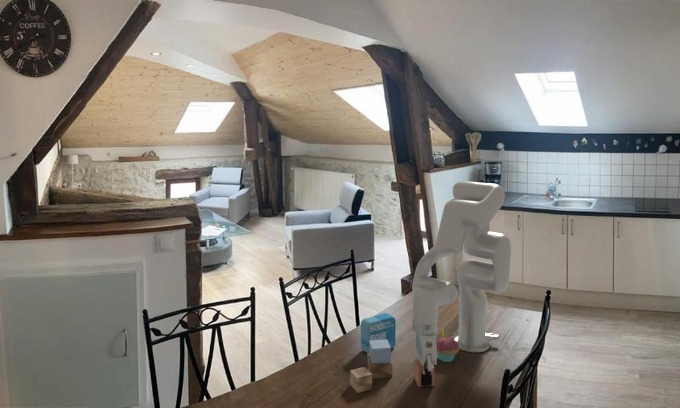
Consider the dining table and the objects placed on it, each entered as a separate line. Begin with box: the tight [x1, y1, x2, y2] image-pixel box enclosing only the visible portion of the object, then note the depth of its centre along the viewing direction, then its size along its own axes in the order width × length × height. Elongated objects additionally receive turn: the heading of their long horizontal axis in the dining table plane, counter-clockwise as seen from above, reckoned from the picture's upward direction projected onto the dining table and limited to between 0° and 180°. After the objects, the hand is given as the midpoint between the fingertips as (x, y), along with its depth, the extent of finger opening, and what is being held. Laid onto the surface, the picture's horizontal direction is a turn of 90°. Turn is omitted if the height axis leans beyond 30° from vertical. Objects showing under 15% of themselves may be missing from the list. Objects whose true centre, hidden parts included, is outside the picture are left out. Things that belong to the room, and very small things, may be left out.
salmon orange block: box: [414, 360, 435, 388], centre depth 155 cm, size 5×5×6 cm
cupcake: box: [436, 327, 460, 363], centre depth 169 cm, size 9×8×12 cm
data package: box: [360, 312, 397, 354], centre depth 176 cm, size 12×4×12 cm, turn 120°
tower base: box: [366, 353, 393, 380], centre depth 161 cm, size 7×7×5 cm
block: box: [349, 366, 373, 394], centre depth 153 cm, size 5×5×5 cm
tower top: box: [369, 339, 392, 364], centre depth 160 cm, size 6×6×5 cm
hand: (424, 379), depth 155 cm, fingers closed on salmon orange block, 5 cm apart
